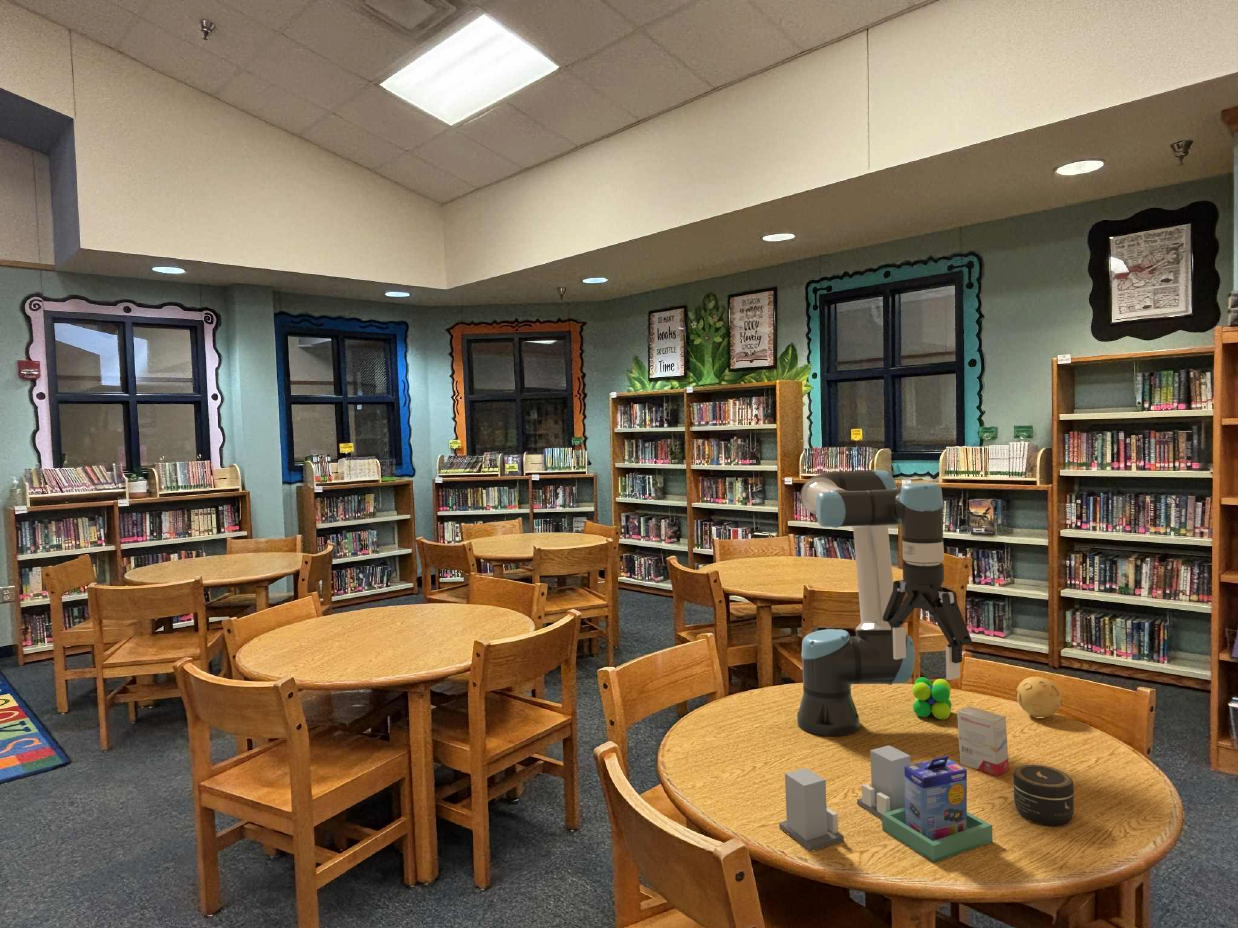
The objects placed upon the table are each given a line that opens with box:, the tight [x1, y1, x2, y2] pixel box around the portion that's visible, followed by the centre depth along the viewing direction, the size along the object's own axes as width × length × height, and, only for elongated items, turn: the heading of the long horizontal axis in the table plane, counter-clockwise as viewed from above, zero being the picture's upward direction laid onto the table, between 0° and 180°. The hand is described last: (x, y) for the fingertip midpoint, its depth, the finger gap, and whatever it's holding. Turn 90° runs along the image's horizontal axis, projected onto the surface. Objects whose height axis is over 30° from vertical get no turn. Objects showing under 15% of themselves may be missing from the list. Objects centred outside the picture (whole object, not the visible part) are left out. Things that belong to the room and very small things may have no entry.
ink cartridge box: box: [904, 755, 968, 841], centre depth 132 cm, size 10×6×14 cm, turn 108°
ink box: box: [956, 706, 1010, 777], centre depth 158 cm, size 9×5×12 cm, turn 33°
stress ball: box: [1015, 676, 1063, 718], centre depth 184 cm, size 10×10×10 cm
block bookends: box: [778, 745, 912, 852], centre depth 138 cm, size 9×26×11 cm, turn 114°
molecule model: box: [912, 676, 952, 721], centre depth 188 cm, size 9×9×9 cm
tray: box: [881, 807, 994, 864], centre depth 132 cm, size 12×14×3 cm
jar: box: [1012, 764, 1075, 828], centre depth 138 cm, size 10×10×8 cm
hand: (925, 667), depth 145 cm, fingers open, 13 cm apart
